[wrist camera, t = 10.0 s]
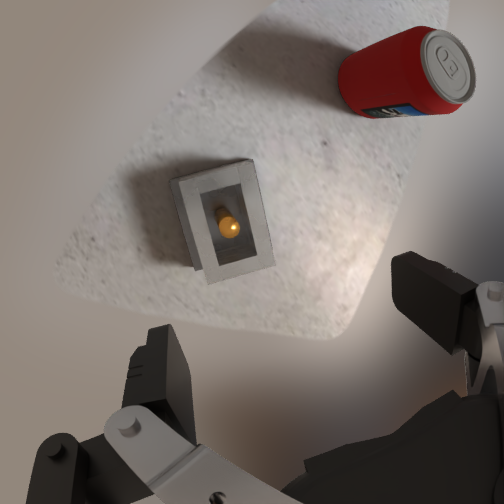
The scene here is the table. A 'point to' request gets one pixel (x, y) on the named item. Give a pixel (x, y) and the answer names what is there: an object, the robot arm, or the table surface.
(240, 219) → the grey peg base
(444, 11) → the table surface
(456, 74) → the beverage can
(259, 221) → the silver frame
